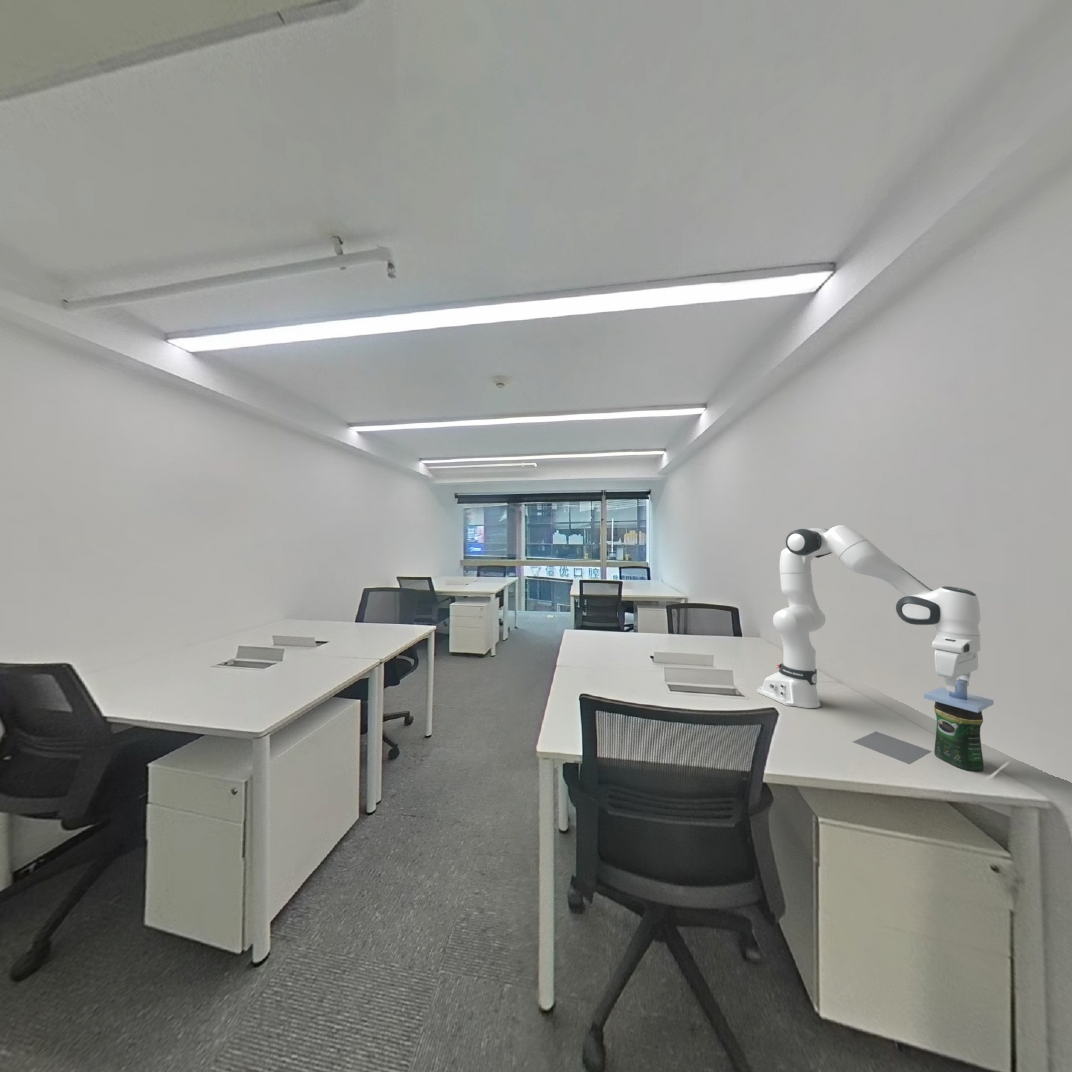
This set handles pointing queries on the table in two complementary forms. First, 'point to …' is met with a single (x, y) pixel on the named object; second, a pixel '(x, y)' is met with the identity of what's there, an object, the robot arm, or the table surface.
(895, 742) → the mat
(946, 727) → the coffee jar
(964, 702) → the lid
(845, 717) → the table surface
